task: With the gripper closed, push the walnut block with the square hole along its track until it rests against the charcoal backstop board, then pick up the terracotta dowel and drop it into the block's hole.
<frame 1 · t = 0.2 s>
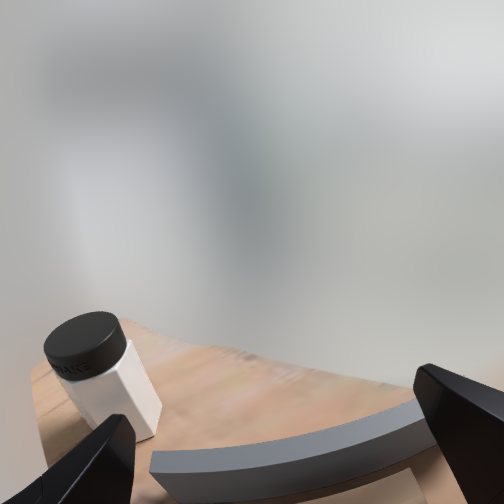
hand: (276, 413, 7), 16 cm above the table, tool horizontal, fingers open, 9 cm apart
jar: (128, 421, 26), on the table
backstop: (326, 476, 17), on the table
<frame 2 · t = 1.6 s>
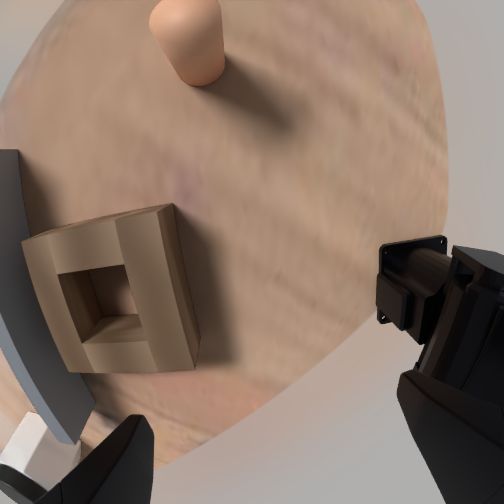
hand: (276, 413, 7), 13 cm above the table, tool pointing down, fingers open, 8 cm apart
jar: (55, 433, 25), on the table
backstop: (38, 293, 20), on the table
dowel: (200, 64, 16), on the table
block: (111, 295, 18), point 2 cm above the table, slide at 0.0 cm
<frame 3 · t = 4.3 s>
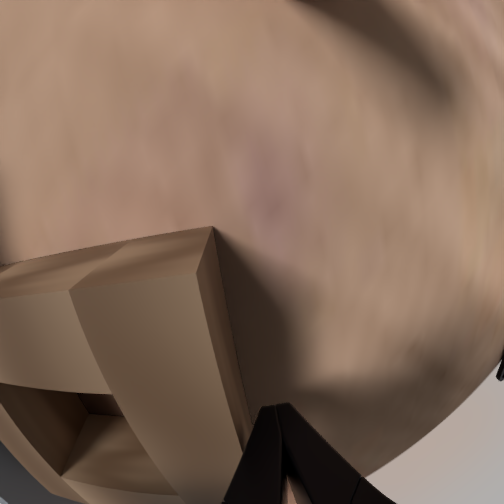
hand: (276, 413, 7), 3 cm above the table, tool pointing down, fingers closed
block: (96, 407, 8), point 2 cm above the table, slide at 0.9 cm, touching gripper
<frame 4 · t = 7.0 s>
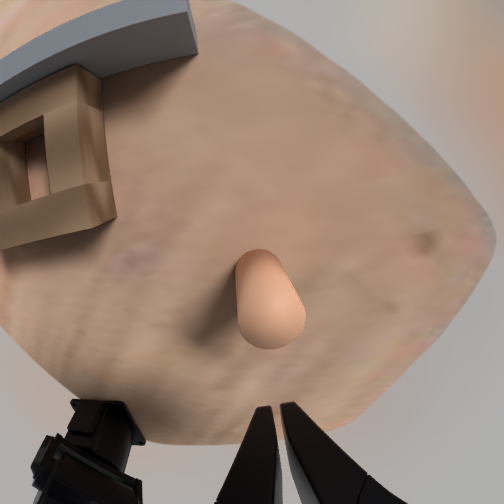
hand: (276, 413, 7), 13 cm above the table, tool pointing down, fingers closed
backstop: (46, 88, 15), on the table
dowel: (258, 271, 20), on the table
block: (35, 164, 15), point 2 cm above the table, slide at 2.3 cm
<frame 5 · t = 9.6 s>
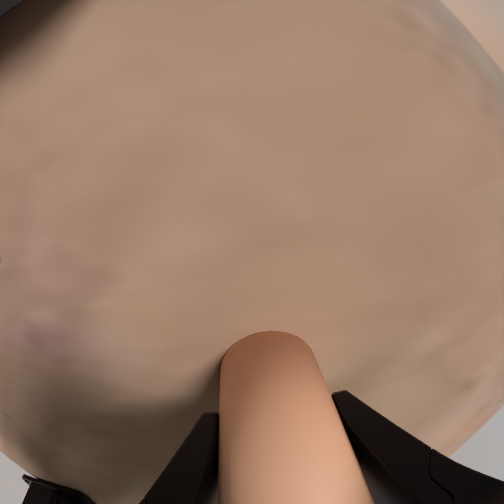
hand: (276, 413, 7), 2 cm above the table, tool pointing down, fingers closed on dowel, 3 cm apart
dowel: (268, 370, 9), on the table, touching gripper
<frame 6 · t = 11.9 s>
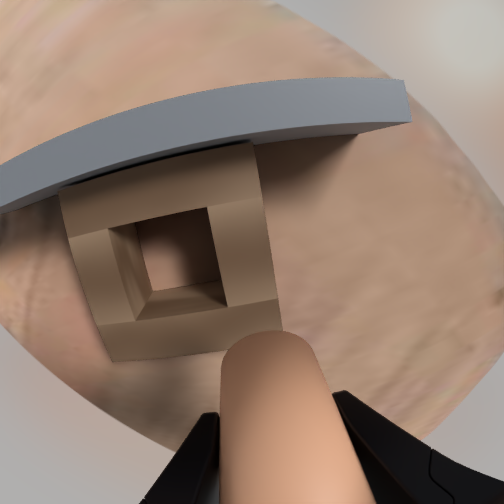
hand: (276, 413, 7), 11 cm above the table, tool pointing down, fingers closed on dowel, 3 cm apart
backstop: (160, 146, 16), on the table
dowel: (269, 370, 9), point 9 cm above the table, touching gripper
block: (174, 256, 16), point 2 cm above the table, slide at 2.3 cm
when the fingers open (5 cm above the table, at t = 14.3 s): dowel drops 3 cm, resting in block.
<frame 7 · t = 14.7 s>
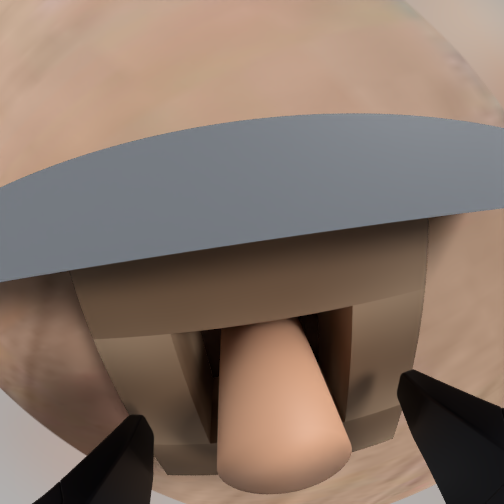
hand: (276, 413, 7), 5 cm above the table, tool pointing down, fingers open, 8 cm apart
backstop: (238, 175, 10), on the table
dowel: (259, 326, 12), resting in block
block: (265, 353, 10), point 2 cm above the table, slide at 2.3 cm
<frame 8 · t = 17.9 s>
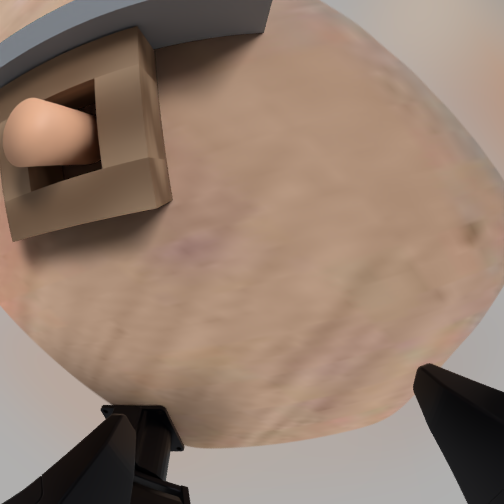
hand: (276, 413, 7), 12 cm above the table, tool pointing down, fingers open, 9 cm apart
backstop: (85, 59, 14), on the table
dowel: (89, 140, 16), resting in block
block: (75, 138, 14), point 2 cm above the table, slide at 2.3 cm
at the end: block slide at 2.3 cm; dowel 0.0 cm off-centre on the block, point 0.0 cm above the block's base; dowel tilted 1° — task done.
